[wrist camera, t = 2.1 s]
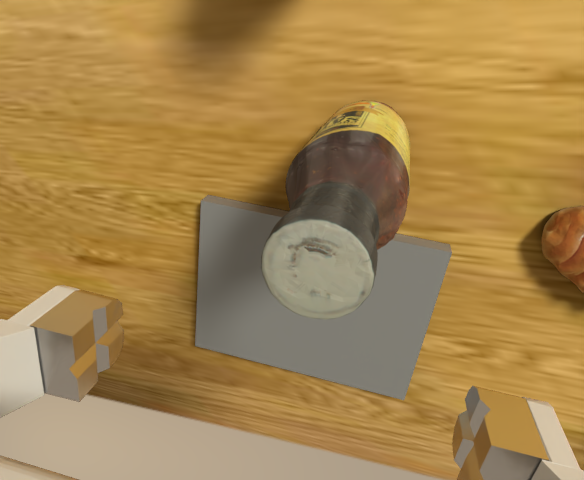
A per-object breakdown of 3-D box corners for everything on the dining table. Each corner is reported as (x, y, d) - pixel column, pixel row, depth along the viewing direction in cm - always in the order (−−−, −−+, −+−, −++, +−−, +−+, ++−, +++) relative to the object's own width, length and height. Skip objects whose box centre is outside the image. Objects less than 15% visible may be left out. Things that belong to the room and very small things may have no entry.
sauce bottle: (361, 78, 30) (310, 124, 13) (428, 136, 31) (467, 256, 13) (305, 150, 33) (199, 267, 16) (366, 201, 34) (332, 371, 16)
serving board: (449, 244, 34) (451, 252, 33) (403, 388, 40) (404, 400, 39) (208, 194, 37) (200, 200, 35) (201, 336, 43) (195, 345, 42)
